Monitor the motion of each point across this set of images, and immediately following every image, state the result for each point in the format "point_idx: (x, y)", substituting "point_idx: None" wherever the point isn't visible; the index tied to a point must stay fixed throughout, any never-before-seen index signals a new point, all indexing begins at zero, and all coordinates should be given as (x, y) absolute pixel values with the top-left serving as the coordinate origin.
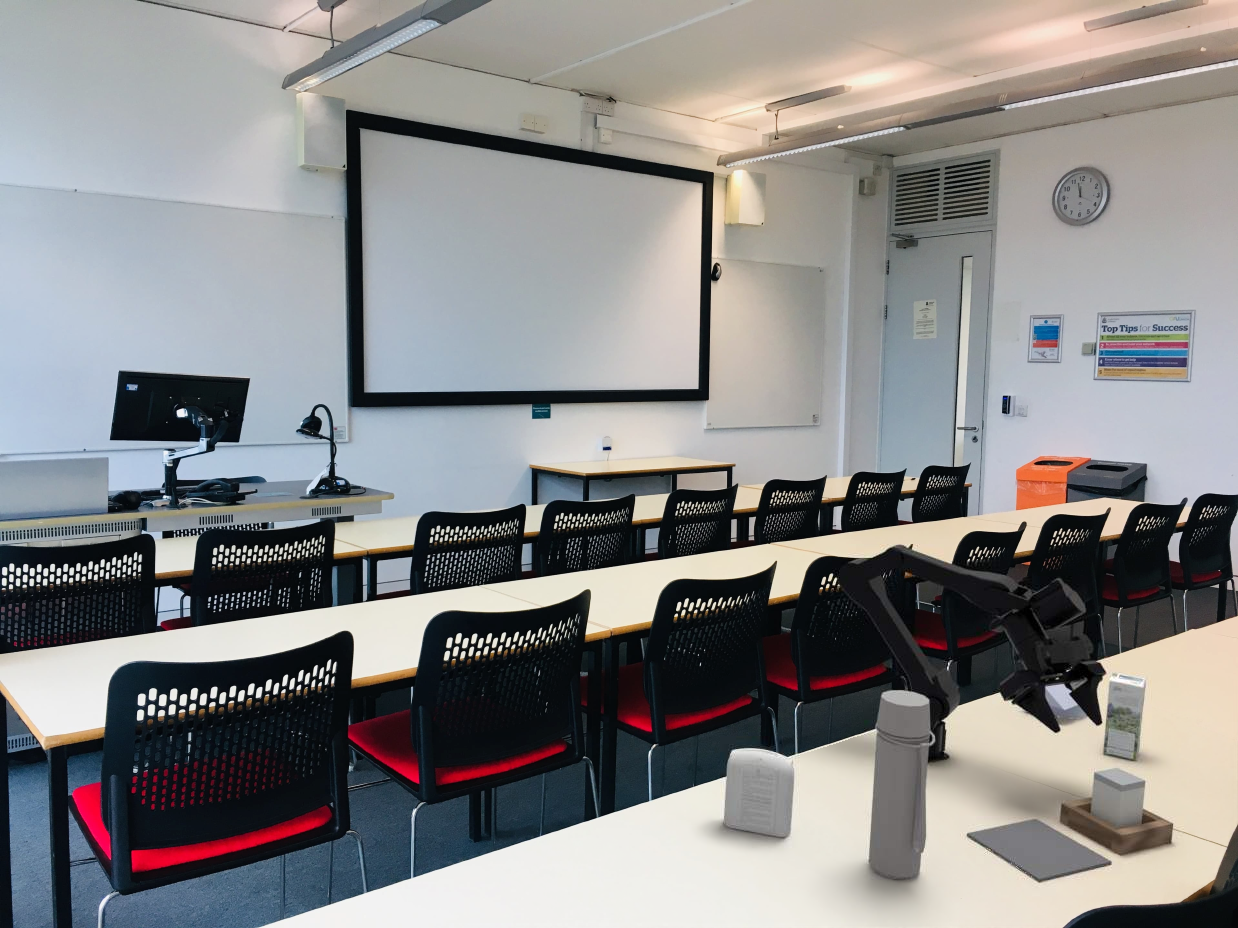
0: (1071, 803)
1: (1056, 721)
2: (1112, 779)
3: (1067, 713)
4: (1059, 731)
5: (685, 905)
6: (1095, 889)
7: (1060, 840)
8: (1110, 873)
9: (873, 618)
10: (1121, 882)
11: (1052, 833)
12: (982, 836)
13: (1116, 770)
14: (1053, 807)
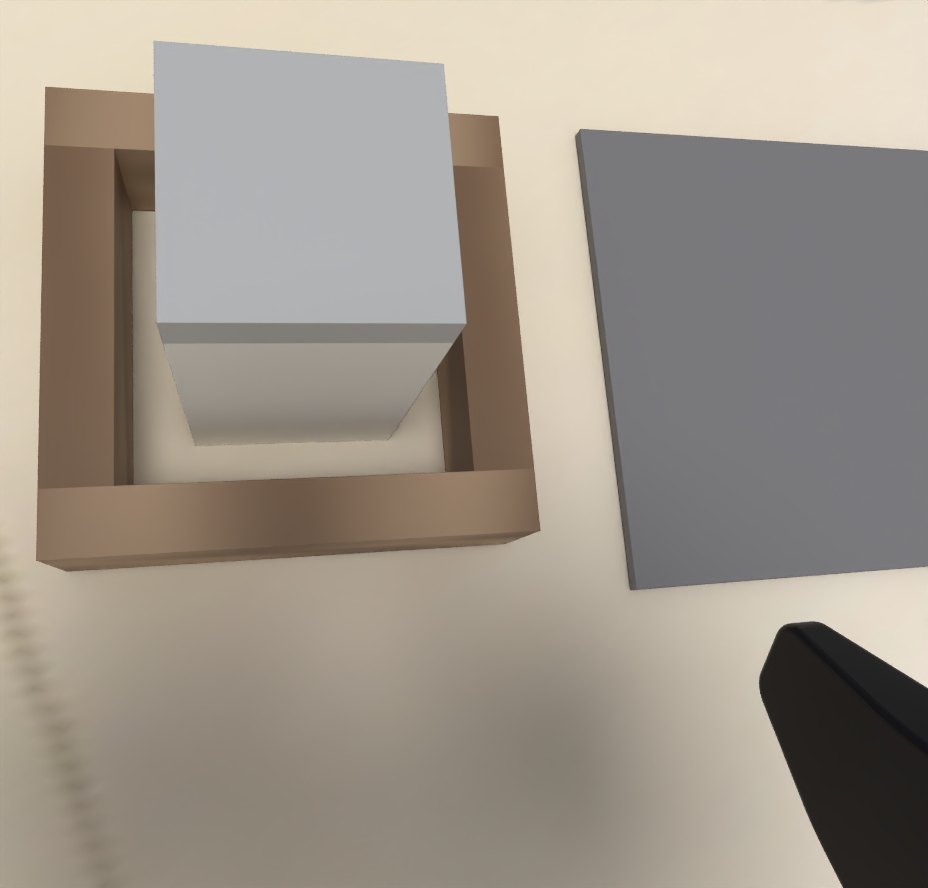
0: (476, 508)
1: (890, 702)
2: (430, 164)
3: None
4: (774, 639)
5: None
6: (781, 39)
7: (671, 356)
8: (638, 89)
9: None
10: (647, 27)
11: (662, 423)
12: None
13: (228, 277)
14: (403, 711)
